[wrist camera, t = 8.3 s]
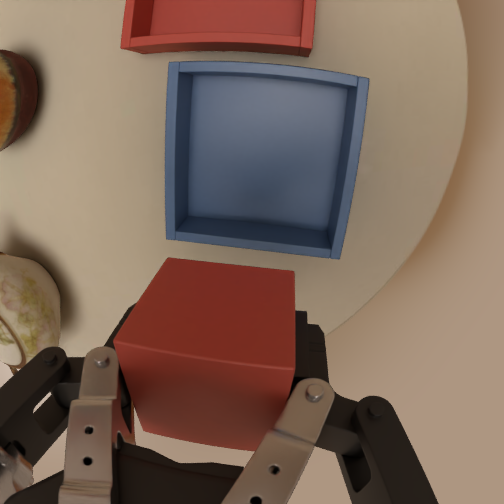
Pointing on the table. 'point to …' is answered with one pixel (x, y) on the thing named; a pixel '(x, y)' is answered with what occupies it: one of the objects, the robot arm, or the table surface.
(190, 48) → the red bin
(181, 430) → the red block
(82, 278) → the table surface
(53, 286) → the sugar bowl
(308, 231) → the blue bin
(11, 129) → the vase
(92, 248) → the table surface
